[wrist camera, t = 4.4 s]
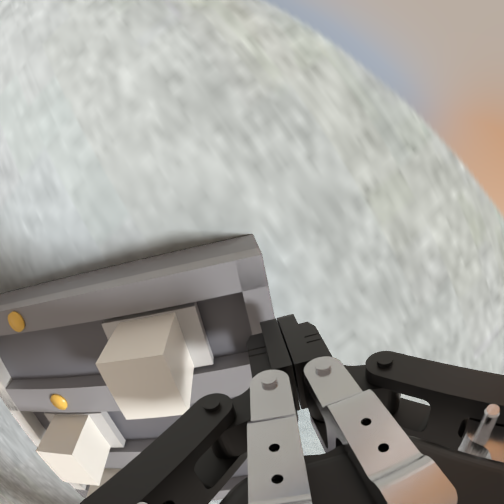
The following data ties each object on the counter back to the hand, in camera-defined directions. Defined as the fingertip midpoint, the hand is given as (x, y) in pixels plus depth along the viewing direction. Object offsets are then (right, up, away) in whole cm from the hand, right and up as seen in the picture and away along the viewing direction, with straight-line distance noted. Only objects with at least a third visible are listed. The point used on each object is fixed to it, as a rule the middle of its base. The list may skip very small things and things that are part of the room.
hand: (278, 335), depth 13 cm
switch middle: (-13, -8, +3) cm, 15 cm away
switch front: (-6, -1, +2) cm, 6 cm away
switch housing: (-9, -6, +7) cm, 13 cm away
